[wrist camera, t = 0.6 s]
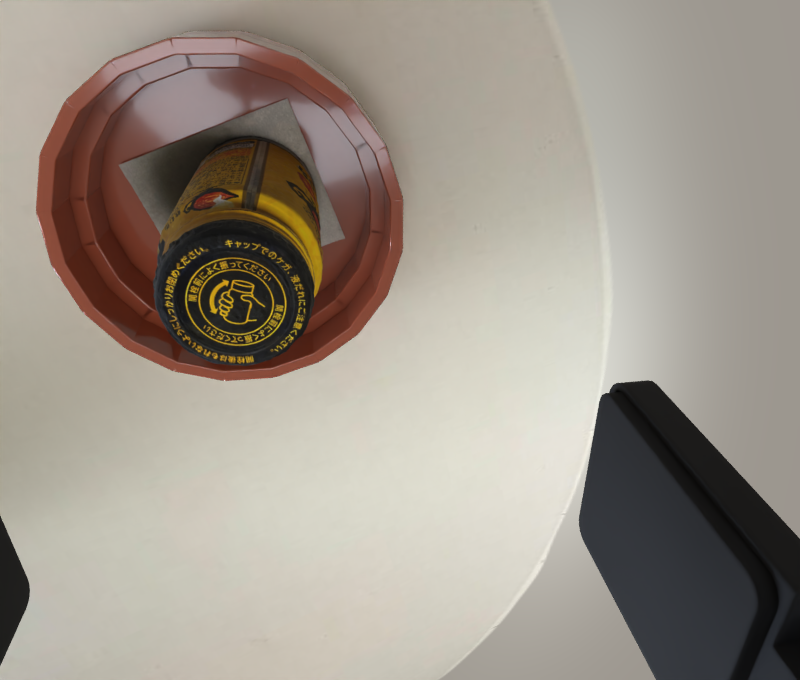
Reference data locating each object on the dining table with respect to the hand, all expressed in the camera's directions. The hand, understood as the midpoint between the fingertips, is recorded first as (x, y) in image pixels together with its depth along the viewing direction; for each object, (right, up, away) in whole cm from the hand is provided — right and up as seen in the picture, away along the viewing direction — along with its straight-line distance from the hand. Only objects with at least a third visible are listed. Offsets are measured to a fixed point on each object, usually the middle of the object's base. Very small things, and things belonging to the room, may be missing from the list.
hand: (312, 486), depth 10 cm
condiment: (-7, +9, +21) cm, 24 cm away
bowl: (-7, +9, +22) cm, 24 cm away
